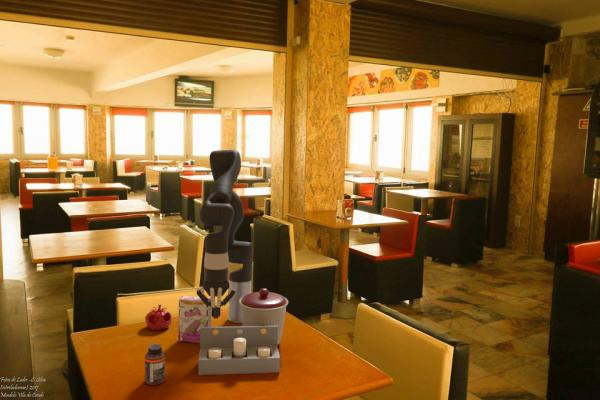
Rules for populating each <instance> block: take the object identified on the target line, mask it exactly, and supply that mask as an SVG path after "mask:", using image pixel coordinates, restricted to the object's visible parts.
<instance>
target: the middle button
mask: <svg viewBox="0 0 600 400" xmlns="http://www.w3.org/2000/svg"><path fill="white" fill-rule="evenodd" d="M233 355H234V356H235V357H244V356H245V355H246V339H244V338H236V339H234V353H233Z"/></svg>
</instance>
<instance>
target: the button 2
mask: <svg viewBox="0 0 600 400" xmlns="http://www.w3.org/2000/svg"><path fill="white" fill-rule="evenodd" d="M258 357H270V348H269V347H259V348H258Z"/></svg>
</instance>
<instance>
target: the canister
mask: <svg viewBox="0 0 600 400" xmlns="http://www.w3.org/2000/svg"><path fill="white" fill-rule="evenodd" d="M239 303H240V305H241V313H242V323H241V324H242V326H278V342H277V346H279V344H280V342H281V340H282V336H283V330H284V326H285V325H284V323H285V318H286V317H285V316H286V313H287V312H286V310H287V306H288V304H289V300H288V299H287V297H284V296H283V295H282V294H279V293H276V292H271V291H269V289H268V288H265V287H262V288H260V289H259V291H255V292H251V293H250V294H247V295H245V296H244V297H242V298H241V299H240V300H239Z"/></svg>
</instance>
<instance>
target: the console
mask: <svg viewBox="0 0 600 400" xmlns="http://www.w3.org/2000/svg"><path fill="white" fill-rule="evenodd" d="M236 338H244V339H246V355H245V356H244V357H235V356H234V355H233V353H234V339H236ZM277 342H278V326H243V325H237V326H236V325H235V326H234V325H233V326H211V327H201V331H200V343H199V346H200V347H199V348H200V349H199V356H198V370H197V371H198V373H197V374H198V376H206V375H207V376H210V375H214V376H215V375H237V374H238V375H239V374H240V375H241V374H243V375H246V374H268V373H269V374H270V373H272V374H273V373H280V370H281V356H280V352H279V351H280V350H279V347H278V345H277ZM259 347H269V348H270V357H258V348H259ZM211 348H220V349H221V358H209V349H211Z"/></svg>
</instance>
